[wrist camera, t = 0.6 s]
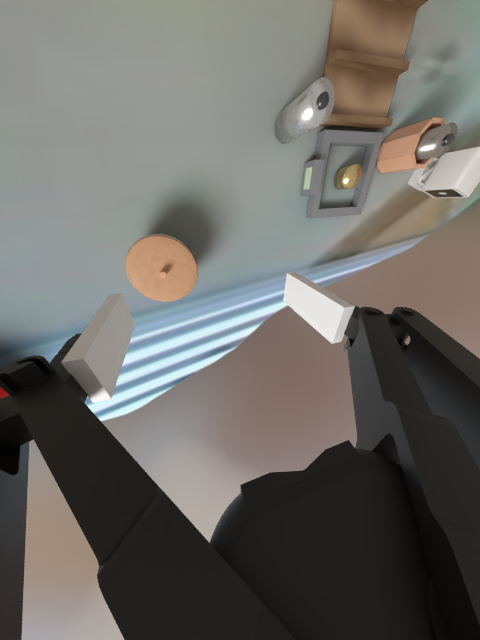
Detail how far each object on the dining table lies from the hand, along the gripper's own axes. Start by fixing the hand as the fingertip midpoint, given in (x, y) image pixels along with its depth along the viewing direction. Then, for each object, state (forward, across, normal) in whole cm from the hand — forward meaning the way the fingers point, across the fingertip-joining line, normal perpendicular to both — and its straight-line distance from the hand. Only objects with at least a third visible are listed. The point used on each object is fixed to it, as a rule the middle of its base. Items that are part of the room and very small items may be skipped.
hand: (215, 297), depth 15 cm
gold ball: (+25, +31, +10) cm, 42 cm away
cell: (+25, +18, +17) cm, 35 cm away
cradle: (+25, +30, +10) cm, 41 cm away
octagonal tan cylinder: (+25, +43, +15) cm, 52 cm away
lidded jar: (+25, -5, -3) cm, 26 cm away
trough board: (+25, +31, +24) cm, 47 cm away
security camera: (+25, +54, +11) cm, 61 cm away
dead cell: (+24, +43, +15) cm, 51 cm away
